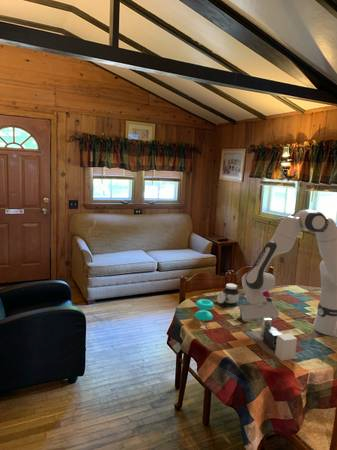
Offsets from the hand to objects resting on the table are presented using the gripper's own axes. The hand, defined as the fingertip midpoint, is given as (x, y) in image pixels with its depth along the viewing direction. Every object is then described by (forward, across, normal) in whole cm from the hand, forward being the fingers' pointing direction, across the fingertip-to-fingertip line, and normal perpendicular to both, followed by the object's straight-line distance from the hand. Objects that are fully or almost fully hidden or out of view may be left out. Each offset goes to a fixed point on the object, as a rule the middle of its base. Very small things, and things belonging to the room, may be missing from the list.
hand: (264, 327), depth 175 cm
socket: (+16, 0, -9) cm, 19 cm away
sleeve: (+9, 0, -2) cm, 9 cm away
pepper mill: (-25, +27, +34) cm, 50 cm away
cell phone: (-6, -18, +16) cm, 25 cm away
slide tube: (+10, 0, -4) cm, 11 cm away
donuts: (-15, -21, +24) cm, 36 cm away
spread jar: (-28, +3, +37) cm, 47 cm away
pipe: (-11, +5, +21) cm, 24 cm away
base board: (+9, 0, 0) cm, 9 cm away
